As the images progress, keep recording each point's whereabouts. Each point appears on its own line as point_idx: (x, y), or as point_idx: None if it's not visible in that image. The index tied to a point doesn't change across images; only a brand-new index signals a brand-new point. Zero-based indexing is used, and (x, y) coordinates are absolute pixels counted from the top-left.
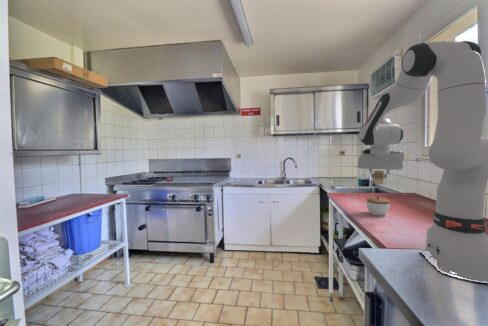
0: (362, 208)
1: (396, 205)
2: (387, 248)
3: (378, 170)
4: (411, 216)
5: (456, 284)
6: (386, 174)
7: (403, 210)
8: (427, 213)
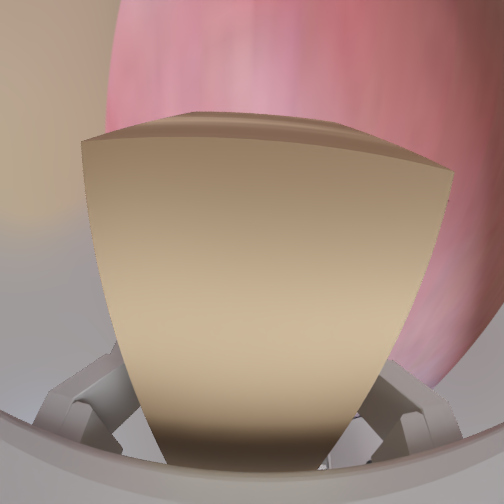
0: (171, 72)
1: None
2: None
3: (227, 394)
4: (421, 154)
5: (322, 465)
6: (363, 407)
7: (406, 31)
8: (490, 74)
